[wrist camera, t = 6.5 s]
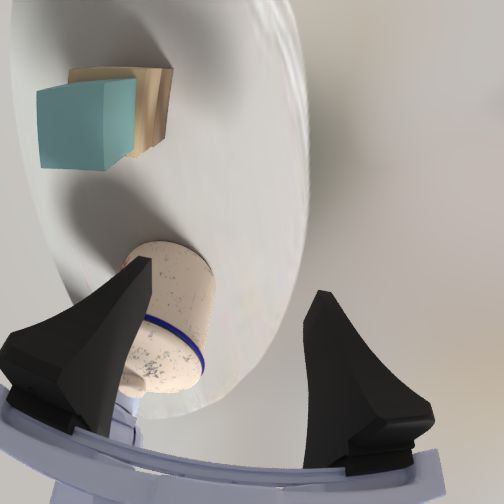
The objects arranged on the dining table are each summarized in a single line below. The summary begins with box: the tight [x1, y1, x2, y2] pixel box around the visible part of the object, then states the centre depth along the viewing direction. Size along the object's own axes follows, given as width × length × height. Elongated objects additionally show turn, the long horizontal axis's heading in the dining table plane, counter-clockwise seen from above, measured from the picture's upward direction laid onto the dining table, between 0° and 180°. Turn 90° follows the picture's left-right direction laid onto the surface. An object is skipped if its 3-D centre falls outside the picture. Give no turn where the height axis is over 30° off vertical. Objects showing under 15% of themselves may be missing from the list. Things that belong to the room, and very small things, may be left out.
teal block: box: [37, 78, 137, 171], centre depth 12 cm, size 4×4×4 cm
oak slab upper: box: [68, 67, 162, 158], centre depth 14 cm, size 5×5×2 cm
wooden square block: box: [145, 67, 174, 147], centre depth 17 cm, size 5×5×2 cm
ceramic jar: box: [118, 241, 216, 398], centre depth 22 cm, size 12×9×12 cm
